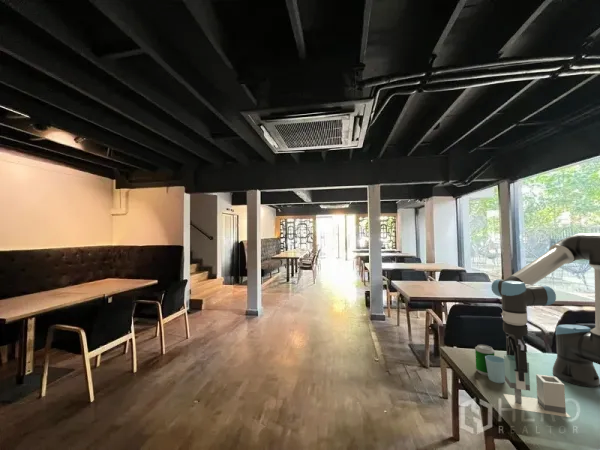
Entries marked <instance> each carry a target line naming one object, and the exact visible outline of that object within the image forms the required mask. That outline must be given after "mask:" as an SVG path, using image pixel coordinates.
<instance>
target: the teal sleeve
mask: <svg viewBox="0 0 600 450" xmlns="http://www.w3.org/2000/svg"><path fill="white" fill-rule="evenodd" d="M503 358H504V366H505V383H506V384H507V385H508V386H509V388H511V389H514V390H515V389H517V388H516V373H515V371H514V369H516V362H515V355H507V353H506V354H503ZM527 369H528V373H525V385H526V390H525V391H529V392H530V391H531V380H530V363H529V361H528V360H527Z"/></svg>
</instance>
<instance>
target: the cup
mask: <svg viewBox="0 0 600 450" xmlns="http://www.w3.org/2000/svg"><path fill="white" fill-rule="evenodd" d="M485 360H486V365H487V371H488V376H487V377H488V380H489V381H490V382H493V383H497V384H504V383H506V381H505V366H504V357H502V356H501V357H500V356H497V355H495V356H493V355H488V356H485Z"/></svg>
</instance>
